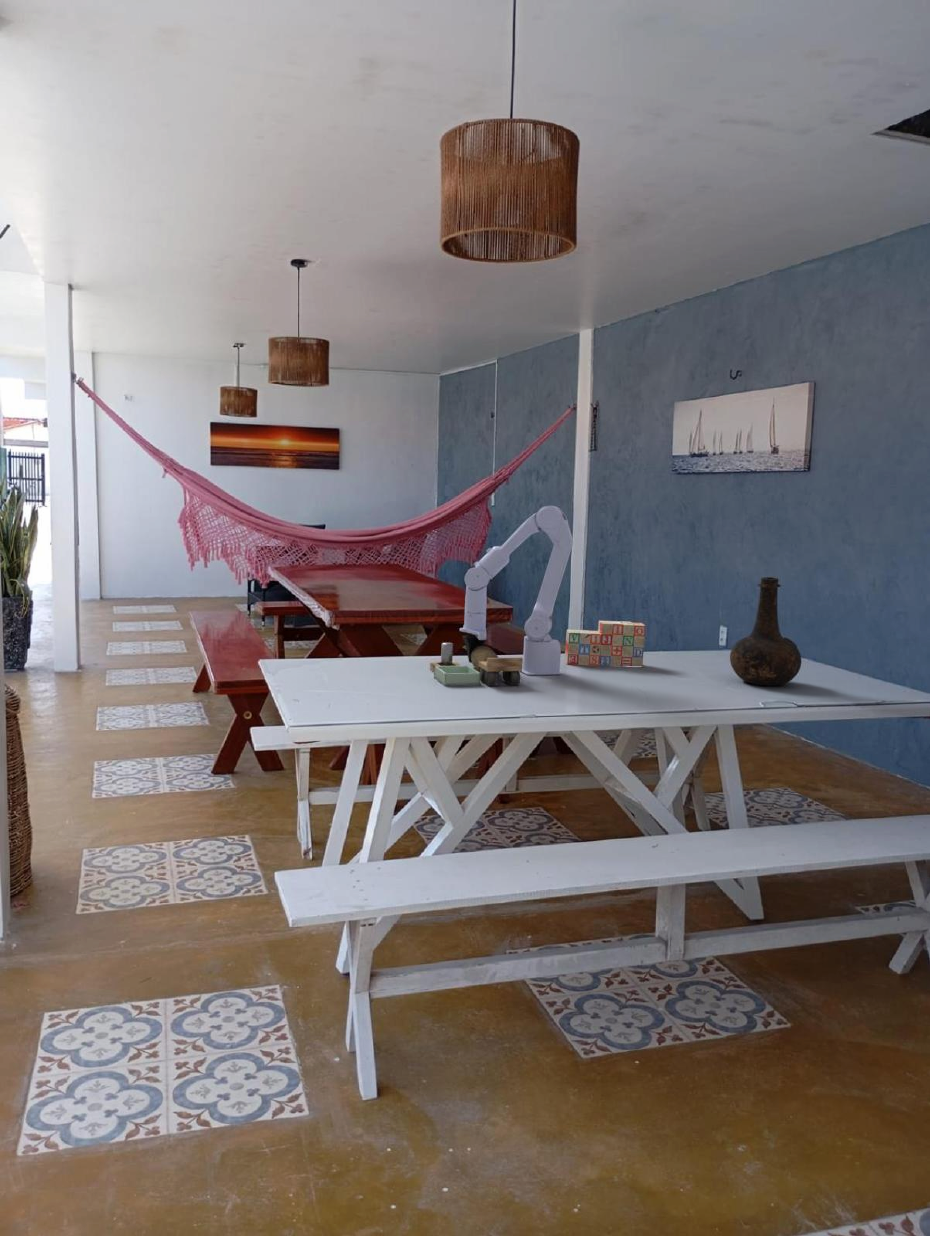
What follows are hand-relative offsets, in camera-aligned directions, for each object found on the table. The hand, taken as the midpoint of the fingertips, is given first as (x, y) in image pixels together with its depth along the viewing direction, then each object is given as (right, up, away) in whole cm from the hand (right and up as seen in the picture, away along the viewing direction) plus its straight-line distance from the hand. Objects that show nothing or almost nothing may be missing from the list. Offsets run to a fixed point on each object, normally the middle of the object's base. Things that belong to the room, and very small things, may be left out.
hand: (473, 662), depth 261 cm
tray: (-4, -4, -20) cm, 21 cm away
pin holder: (-7, -2, -7) cm, 11 cm away
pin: (-7, -2, -7) cm, 11 cm away
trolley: (+6, -4, -20) cm, 22 cm away
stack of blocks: (+37, -2, +14) cm, 40 cm away
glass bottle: (+77, -5, -4) cm, 77 cm away
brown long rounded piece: (+3, -3, -8) cm, 9 cm away
